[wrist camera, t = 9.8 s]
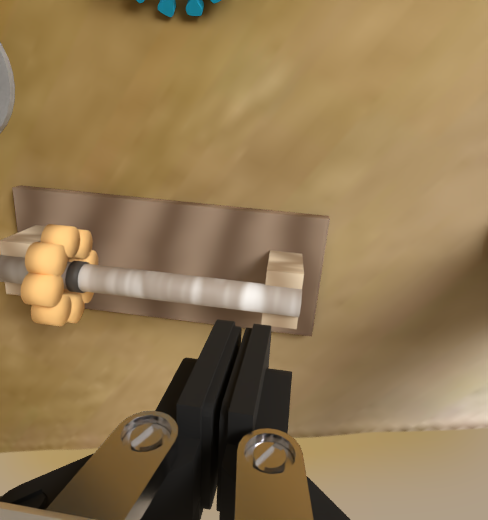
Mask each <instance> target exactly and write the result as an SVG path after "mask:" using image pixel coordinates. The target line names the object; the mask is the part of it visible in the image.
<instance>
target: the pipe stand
mask: <svg viewBox="0 0 488 520" xmlns="http://www.w3.org/2000/svg"><path fill="white" fill-rule="evenodd" d="M13 196H14V204H15V213H16V221H17V229H18V233H16V234H14V235H11V236H9V237H6V238H4V239H2V240H0V252H1V255H0V281H1V282H5V288H6V294H12V295H20V296H21V285H22V282H23V279H24V278H25V276H26V275H27V274H28V273H29V272H28V271H27V269H26V267H25V255H26V252H27V249H28V247H29V246H30V245H31V244H32V243H34V242H41V234H42V232H43V229H44V228H45V227H46V226H47V225H49V224H54V225H64V226H73V227H76V228H77V229H80V230H88V231H90V233H91V235H92V240H93V245H92V250H94V251H96V253H97V255H98V265H94V264H90V263H89V262H84V261H73V262H67V267H66V269H65V271H64V273H63V274H62V275H61V277H62V279H63V282H64V289H67V290H69V291H70V292H78V293H85V292H93V293H94V295H93V297H92V299H91V301H90V302H89V303H85V306H84V308H85V309H93V310H102V311H110V312H118V313H126V314H134V315H142V316H150V317H158V318H167V319H175V320H183V321H191V322H199V323H207V324H215V322H216V320H217V319H219V320H228V321H235V326H239V327H241V328H246V327H247V328H252V327H253V324H262V325H270V326H271V331H272V332H280V333H288V334H296V335H305V336H312V332H313V325H314V319H315V312H316V306H317V299H318V292H319V286H320V279H321V273H322V266H323V260H324V253H325V246H326V240H327V233H328V227H329V220H330V219H329V216H322V215H312V214H302V213H292V212H282V211H272V210H262V209H252V208H241V207H231V206H221V205H211V204H201V203H191V202H181V201H171V200H161V199H151V198H140V197H130V196H120V195H110V194H100V193H90V192H80V191H70V190H60V189H50V188H39V187H29V186H17V187H13Z"/></svg>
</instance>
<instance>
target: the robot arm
mask: <svg viewBox="0 0 488 520" xmlns="http://www.w3.org/2000/svg"><path fill="white" fill-rule="evenodd" d="M270 341H271V326H270V325H262V324H253V327H252V328H247V327H246V330H245V333H244V336H243V339H242V342H241V327H239V326H235V321H228V320H219V319H217V320H216V322H215V324H214V326H213V329H212V331H211V333H210V335H209V337H208V339H207V341H206V343H205V345H204V347H203V350H202V352H201V354H200V356H199V358H198V359H192V358H184V359H183V361H182V362H181V364H180V366H179V368H178V370H177V372H176V373H175V375H174V377H173V379H172V381H171V383H170V385H169V386H168V388H167V390H166V392H165V394H164V396H163V398H162V399H161V401H160V403H159V405H158V407H157V409H156V411H143V412H140V413H136V414H134V415H132V416H130V417H128V418H126V419H125V420H124V421H123V422H121V423H120V424H119V425H118V426H117V428H116V429H115V430H114V431H113V432H112V433H111V435H110V436H109V437H108V438H107V439H106V440H105V441H104V443H103V444H102V445H101V446H100V447H99V448H98V450H97V451H96V452H95V453H94V454H92V455H89V456H87V457H85V458H82V459H80V460H77V461H75V462H73V463H70V464H68V465H66V466H63V467H61V468H59V469H56V470H54V471H52V472H49V473H47V474H45V475H42V476H40V477H38V478H35V479H33V480H31V481H29V482H26V483H24V484H21V485H19V486H17V487H15V488H13V489H12V490H10V491H8V492H7V493H6V494H4V495H3V496H0V520H200V519H201V515H202V512H203V508H205V509H211V506H212V503H213V499H214V496H215V492H216V488H217V511H220V520H350V519H349V518H348V517H347V516H346V515H345V514H344V513H343V512H342V511H341V510H340V509H339V508H338V507H337V506H336V505H335V504H334V503H333V502H332V501H331V500H330V499H329V498H328V497H327V496H326V495H325V494H324V493H323V492H322V491H321V490H320V489H319V488H318V487H317V486H316V485H315V484H314V483H313V482H312V481H311V480H310V479H309V478H308V477H307V476H306V471H305V465H304V459H303V453H302V450H301V448H300V445H299V444H298V443H297V442H296V440H295V439H294V438H292V437H291V436H290V435H288V434H287V431H288V418H289V405H290V392H291V379H292V372H290V371H283V370H275V369H268V367H269V354H270Z"/></svg>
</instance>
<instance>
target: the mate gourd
mask: <svg viewBox="0 0 488 520" xmlns="http://www.w3.org/2000/svg"><path fill="white" fill-rule="evenodd" d="M14 100H15V85H14V77H13V72H12V69H11V65H10V62H9V59H8V57H7V55H6V53H5V50H4V48H3V46H2V44H1V43H0V133H1V132H2V130H3V129H4V128H5V127H6V125H7V123H8V121H9V119H10V117H11V114H12V110H13V106H14Z"/></svg>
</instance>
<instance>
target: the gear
mask: <svg viewBox="0 0 488 520" xmlns="http://www.w3.org/2000/svg"><path fill="white" fill-rule="evenodd" d="M136 1H137V2H138V3H143V2H144V1H145V0H136ZM210 1H211V2H212V3H217V2H219V1H221V0H210ZM175 8H176V2H175V0H160V2H159V4H158V10H159V11H160V12H161V13H163V14H164V15H166V16H169V17H172V16H173V14H174V11H175ZM203 8H204V3H203V1H202V0H188V2H187V5H186V12H187V14H188V15H191V16H201V15H202V12H203Z"/></svg>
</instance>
